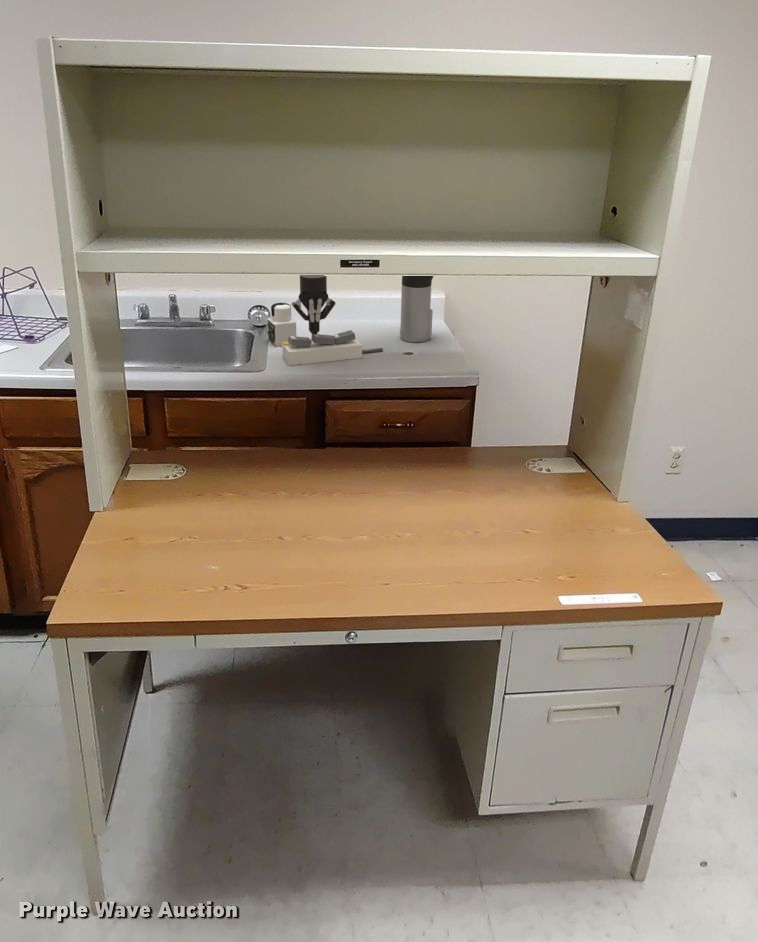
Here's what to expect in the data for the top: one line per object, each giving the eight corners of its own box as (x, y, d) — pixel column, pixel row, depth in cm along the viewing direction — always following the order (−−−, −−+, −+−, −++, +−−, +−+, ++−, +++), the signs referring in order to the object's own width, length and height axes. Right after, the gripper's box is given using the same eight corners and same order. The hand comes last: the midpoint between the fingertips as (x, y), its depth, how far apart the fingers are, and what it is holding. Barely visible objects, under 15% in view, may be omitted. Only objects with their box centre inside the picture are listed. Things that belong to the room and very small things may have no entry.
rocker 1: (307, 343, 222) (308, 336, 221) (310, 346, 219) (311, 340, 218) (287, 341, 220) (288, 335, 219) (290, 345, 217) (291, 338, 216)
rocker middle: (330, 341, 224) (331, 334, 223) (333, 344, 221) (334, 338, 220) (311, 339, 222) (312, 333, 221) (314, 343, 219) (315, 336, 218)
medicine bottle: (268, 340, 238) (266, 302, 232) (289, 337, 240) (288, 300, 235) (275, 346, 232) (273, 308, 226) (297, 344, 235) (295, 305, 229)
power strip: (377, 347, 233) (377, 332, 231) (386, 355, 226) (387, 340, 224) (282, 356, 223) (282, 341, 221) (289, 365, 217) (289, 350, 215)
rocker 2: (351, 335, 226) (350, 329, 225) (355, 339, 223) (354, 332, 222) (333, 340, 224) (331, 334, 223) (336, 344, 222) (335, 338, 221)
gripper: (331, 269, 217) (332, 328, 225) (286, 272, 213) (288, 331, 221) (339, 275, 211) (339, 335, 219) (293, 278, 206) (295, 339, 214)
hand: (314, 333), depth 220 cm, fingers closed
